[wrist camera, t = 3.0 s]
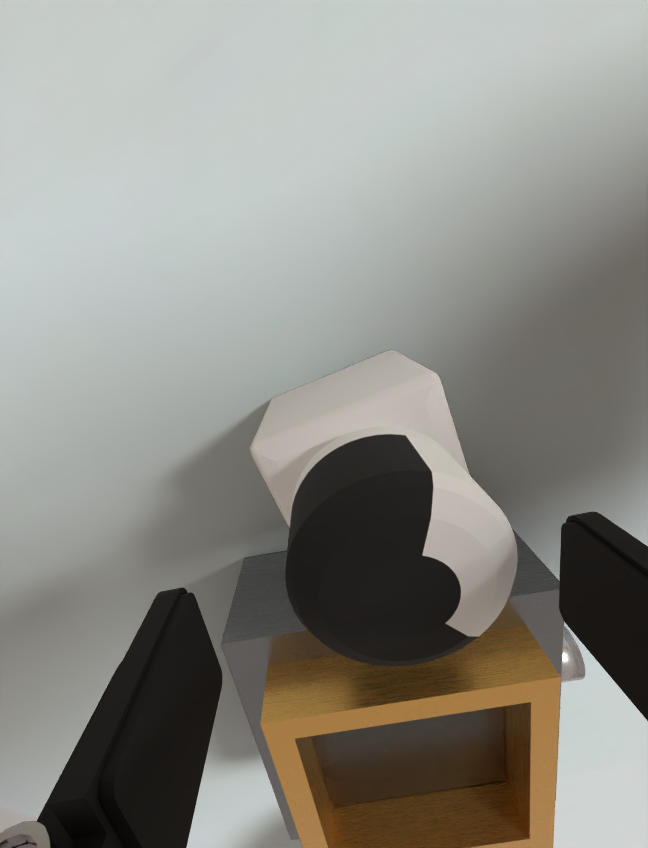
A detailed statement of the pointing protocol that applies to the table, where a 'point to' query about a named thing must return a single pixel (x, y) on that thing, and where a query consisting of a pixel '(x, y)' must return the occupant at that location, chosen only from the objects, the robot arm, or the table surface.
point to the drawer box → (407, 722)
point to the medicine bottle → (383, 515)
